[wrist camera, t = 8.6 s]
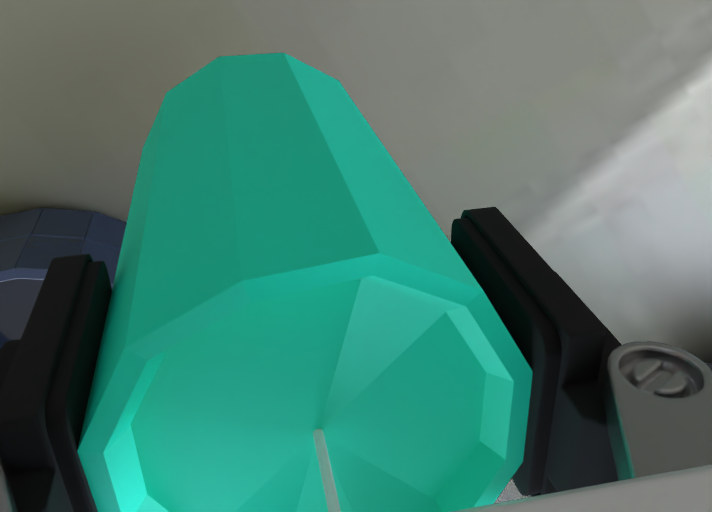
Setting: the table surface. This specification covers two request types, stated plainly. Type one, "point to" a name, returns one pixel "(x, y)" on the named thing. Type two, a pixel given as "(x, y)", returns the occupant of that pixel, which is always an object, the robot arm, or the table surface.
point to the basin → (47, 255)
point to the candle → (293, 320)
